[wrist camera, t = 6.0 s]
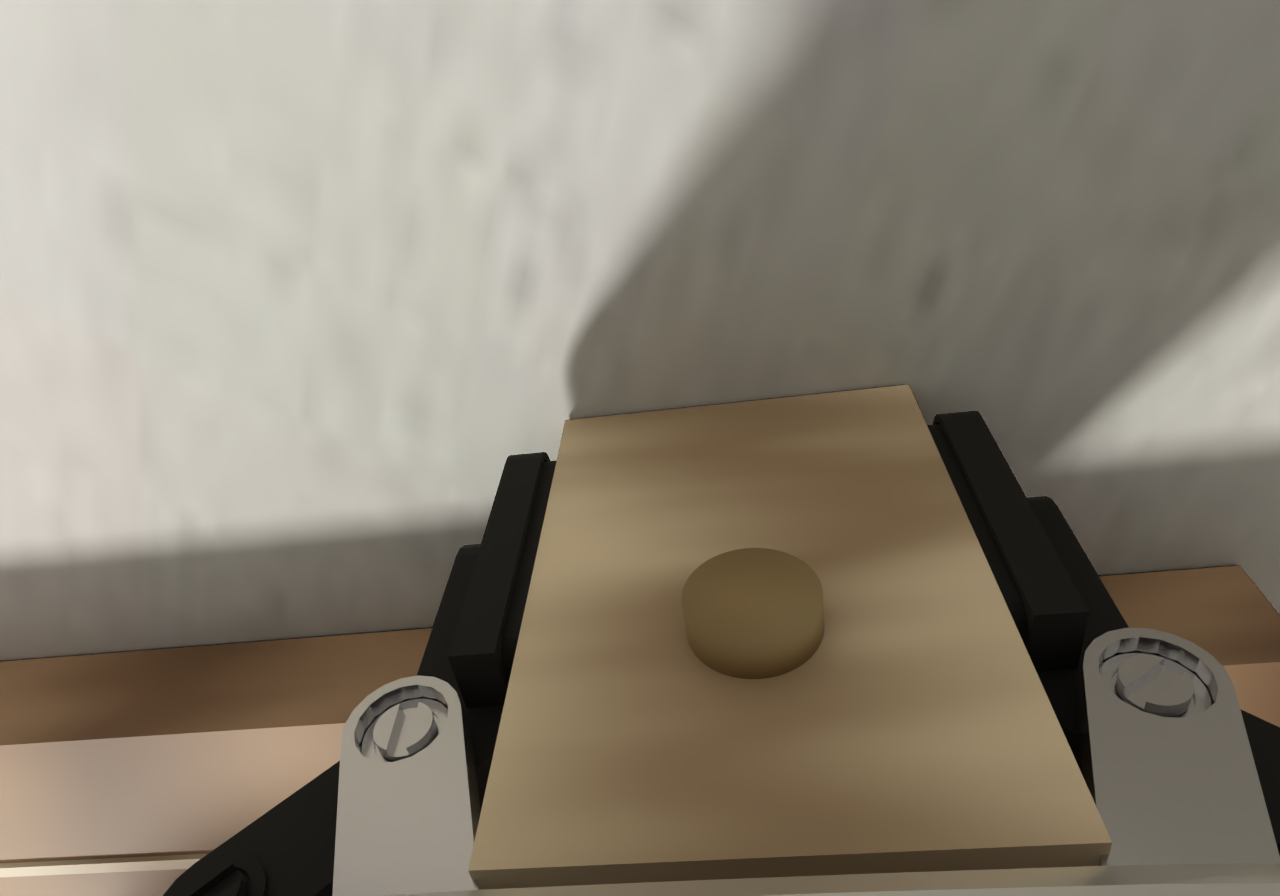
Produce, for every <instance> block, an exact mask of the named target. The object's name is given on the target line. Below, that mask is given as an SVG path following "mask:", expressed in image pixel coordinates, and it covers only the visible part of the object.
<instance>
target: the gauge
mask: <svg viewBox="0 0 1280 896" xmlns="http://www.w3.org/2000/svg"><path fill="white" fill-rule="evenodd" d="M1111 845H1112V841H1111V838H1110V836H1109V834H1108V832H1107V829H1106V827H1105V825H1104V823H1103V820H1102V818H1101V816H1100V814H1099V811H1098V809H1097V807H1096V805H1095V802H1094V800H1093V798H1092V796H1091V793H1090V791H1089V789H1088V787H1087V784H1086V782H1085V780H1084V778H1083V775H1082V773H1081V771H1080V769H1079V766H1078V764H1077V762H1076V760H1075V757H1074V755H1073V753H1072V751H1071V748H1070V746H1069V744H1068V742H1067V739H1066V737H1065V735H1064V733H1063V730H1062V728H1061V726H1060V724H1059V721H1058V719H1057V717H1056V715H1055V712H1054V710H1053V708H1052V706H1051V703H1050V701H1049V699H1048V697H1047V694H1046V692H1045V690H1044V688H1043V685H1042V683H1041V681H1040V679H1039V676H1038V674H1037V672H1036V670H1035V667H1034V665H1033V663H1032V661H1031V658H1030V656H1029V654H1028V652H1027V649H1026V647H1025V645H1024V643H1023V640H1022V638H1021V636H1020V634H1019V631H1018V629H1017V627H1016V625H1015V622H1014V620H1013V618H1012V616H1011V613H1010V611H1009V609H1008V607H1007V604H1006V602H1005V600H1004V598H1003V595H1002V593H1001V591H1000V589H999V586H998V584H997V582H996V580H995V577H994V575H993V573H992V571H991V568H990V566H989V564H988V562H987V559H986V557H985V555H984V553H983V550H982V548H981V546H980V544H979V541H978V539H977V537H976V535H975V532H974V530H973V528H972V526H971V523H970V521H969V519H968V517H967V514H966V512H965V510H964V508H963V505H962V503H961V501H960V499H959V496H958V494H957V492H956V490H955V487H954V485H953V483H952V481H951V478H950V476H949V474H948V472H947V469H946V467H945V465H944V463H943V460H942V458H941V456H940V454H939V451H938V449H937V447H936V445H935V442H934V440H933V438H932V436H931V433H930V431H929V429H928V427H927V424H926V422H925V420H924V418H923V415H922V413H921V411H920V409H919V406H918V404H917V402H916V400H915V397H914V395H913V393H912V391H911V388H910V386H909V385H899V386H890V387H880V388H870V389H861V390H851V391H842V392H832V393H822V394H813V395H803V396H794V397H784V398H775V399H765V400H755V401H746V402H736V403H727V404H717V405H707V406H698V407H688V408H679V409H669V410H660V411H650V412H640V413H631V414H621V415H612V416H602V417H593V418H583V419H573V420H565V425H564V429H563V434H562V439H561V443H560V448H559V453H558V457H557V462H556V466H555V471H554V476H553V480H552V485H551V490H550V494H549V499H548V503H547V508H546V513H545V517H544V522H543V527H542V531H541V536H540V540H539V545H538V550H537V554H536V559H535V564H534V568H533V573H532V578H531V582H530V587H529V591H528V596H527V601H526V605H525V610H524V615H523V619H522V624H521V628H520V633H519V638H518V642H517V647H516V652H515V656H514V661H513V665H512V670H511V675H510V679H509V684H508V689H507V693H506V698H505V702H504V707H503V712H502V716H501V721H500V726H499V730H498V735H497V739H496V744H495V749H494V753H493V758H492V763H491V767H490V772H489V777H488V781H487V786H486V790H485V795H484V800H483V804H482V809H481V814H480V818H479V823H478V827H477V832H476V837H475V841H474V846H473V851H472V855H471V860H470V864H469V869H468V872H469V874H470V876H471V878H472V880H474V879H477V880H478V882H479V884H480V887H481V889H482V890H485V889H508V888H531V887H553V886H576V885H599V884H622V883H644V882H668V881H694V880H719V879H744V878H770V877H796V876H822V875H849V874H875V873H902V872H932V871H962V870H992V869H1022V868H1052V867H1082V866H1098V864H1099V860H1100V857H1101V855H1108V854H1109V853H1110V849H1111Z"/></svg>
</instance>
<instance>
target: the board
mask: <svg viewBox="0 0 1280 896" xmlns="http://www.w3.org/2000/svg"><path fill="white" fill-rule="evenodd" d="M1099 578H1100V579H1101V581H1102V583H1103V584H1104V586H1105V588H1106V589H1107V591H1108V593H1109V594H1110V596H1111V598H1112V600H1113V601H1114V603H1115V605H1116V606H1117V608H1118V610H1119V611H1120V613H1121V615H1122V616H1123V618H1124V620H1125V621H1126V623H1127V625H1128V627H1129V628H1150V629H1154V630H1159V631H1163V632H1168V633H1172V634H1174V635H1176V636H1179V637H1181V638H1184V639H1186V640H1188V641H1191V642H1193V643H1195V644H1196V645H1198V646H1199V647H1201V648H1202V649H1204V650H1205V651H1207V652H1208V653H1210V654H1211V655H1212V656H1213V657H1214V658H1215V659H1216V660H1217V661H1218V662H1219V663H1220V664H1221V665H1222V666H1223V667H1224V668H1225V669H1226V671H1227V673H1228V675H1229V677H1230V679H1231V681H1232V683H1233V685H1234V687H1235V691H1236V695H1237V699H1238V702H1239V706H1240V709H1241V710H1243V711H1246V712H1248V713H1250V714H1252V715H1254V716H1256V717H1258V718H1261V719H1263V720H1265V721H1267V722H1269V723H1271V724H1274V725H1276V726H1278V727H1280V615H1279V613H1278V612H1277V611H1276V610H1275V608H1274V607H1273V606H1272V605H1271V604H1270V602H1269V601H1268V600H1267V599H1266V597H1265V596H1264V595H1263V594H1262V592H1261V591H1260V590H1259V589H1258V587H1257V586H1256V585H1255V584H1254V582H1253V581H1252V580H1251V579H1250V578H1249V576H1248V575H1247V574H1246V573H1245V571H1244V570H1243V569H1242V568H1241V566H1227V567H1214V568H1201V569H1188V570H1175V571H1162V572H1150V573H1137V574H1124V575H1111V576H1099ZM431 631H432V628H428V629H415V630H402V631H389V632H376V633H363V634H351V635H338V636H325V637H312V638H299V639H286V640H273V641H260V642H247V643H235V644H222V645H209V646H196V647H183V648H170V649H157V650H144V651H131V652H119V653H106V654H93V655H80V656H67V657H54V658H41V659H28V660H15V661H3V662H0V896H163V895H164V893H165V892H166V891H167V890H168V889H169V887H170V886H171V885H172V884H173V882H174V881H175V880H176V879H177V878H178V877H179V876H180V875H182V874H183V873H184V872H185V871H186V870H187V869H189V868H190V867H191V866H192V865H193V864H194V863H196V862H197V861H199V860H200V859H201V858H203V857H204V856H206V855H207V854H209V853H210V852H211V851H213V850H214V849H216V848H217V847H218V846H220V845H221V844H223V843H224V842H225V841H227V840H228V839H230V838H231V837H233V836H234V835H235V834H237V833H238V832H240V831H241V830H242V829H244V828H245V827H247V826H248V825H249V824H251V823H252V822H254V821H255V820H257V819H258V818H259V817H261V816H262V815H264V814H265V813H266V812H268V811H269V810H271V809H272V808H273V807H275V806H276V805H278V804H279V803H281V802H282V801H283V800H285V799H286V798H288V797H289V796H290V795H292V794H293V793H295V792H296V791H297V790H299V789H300V788H302V787H303V786H305V785H306V784H307V783H309V782H310V781H312V780H313V779H314V778H316V777H317V776H319V775H320V774H321V773H323V772H324V771H326V770H327V769H329V768H330V767H331V766H333V765H334V764H336V763H337V762H338V761H340V750H341V738H342V734H343V730H344V726H345V723H346V721H347V720H348V718H349V716H350V715H351V713H352V711H353V710H354V709H355V708H356V707H357V706H358V705H359V704H360V703H361V702H362V701H363V700H364V699H365V698H366V697H367V696H368V695H369V694H371V693H372V692H374V691H375V690H377V689H378V688H380V687H381V686H383V685H385V684H388V683H390V682H393V681H395V680H398V679H400V678H406V677H412V676H417V673H418V670H419V667H420V664H421V661H422V658H423V655H424V652H425V649H426V646H427V643H428V640H429V637H430V634H431Z"/></svg>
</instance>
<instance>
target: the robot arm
mask: <svg viewBox="0 0 1280 896" xmlns="http://www.w3.org/2000/svg"><path fill="white" fill-rule="evenodd" d="M927 427H928V429H929V431H930V433H931V436H932V438H933V440H934V442H935V445H936V447H937V449H938V451H939V454H940V456H941V458H942V460H943V463H944V465H945V467H946V469H947V472H948V474H949V476H950V478H951V481H952V483H953V485H954V487H955V490H956V492H957V494H958V496H959V499H960V501H961V503H962V505H963V508H964V510H965V512H966V514H967V517H968V519H969V521H970V523H971V526H972V528H973V530H974V532H975V535H976V537H977V539H978V541H979V544H980V546H981V548H982V550H983V553H984V555H985V557H986V559H987V562H988V564H989V566H990V568H991V571H992V573H993V575H994V577H995V580H996V582H997V584H998V586H999V589H1000V591H1001V593H1002V595H1003V598H1004V600H1005V602H1006V604H1007V607H1008V609H1009V611H1010V613H1011V616H1012V618H1013V620H1014V622H1015V625H1016V627H1017V629H1018V631H1019V634H1020V636H1021V638H1022V640H1023V643H1024V645H1025V647H1026V649H1027V652H1028V654H1029V656H1030V658H1031V661H1032V663H1033V665H1034V667H1035V670H1036V672H1037V674H1038V676H1039V679H1040V681H1041V683H1042V685H1043V688H1044V690H1045V692H1046V694H1047V697H1048V699H1049V701H1050V703H1051V706H1052V708H1053V710H1054V712H1055V715H1056V717H1057V719H1058V721H1059V724H1060V726H1061V728H1062V730H1063V733H1064V735H1065V737H1066V739H1067V742H1068V744H1069V746H1070V748H1071V751H1072V753H1073V755H1074V757H1075V760H1076V762H1077V764H1078V766H1079V769H1080V771H1081V773H1082V775H1083V778H1084V780H1085V782H1086V784H1087V787H1088V789H1089V791H1090V793H1091V796H1092V798H1093V800H1094V802H1095V805H1096V807H1097V809H1098V811H1099V814H1100V816H1101V818H1102V820H1103V823H1104V825H1105V827H1106V829H1107V832H1108V834H1109V836H1110V838H1111V841H1112V845H1111V849H1110V853H1109V854H1108V855H1101V857H1100V860H1099V864H1098V866H1082V867H1052V868H1022V869H992V870H962V871H932V872H902V873H875V874H849V875H822V876H796V877H770V878H744V879H719V880H694V881H668V882H644V883H622V884H599V885H576V886H553V887H531V888H508V889H485V890H482V889H481V887H480V884H479V882H478V880H477V879H474V880H472V878H471V876H470V874H469V872H468V869H469V864H470V860H471V855H472V851H473V846H474V841H475V837H476V832H477V827H478V823H479V818H480V814H481V809H482V804H483V800H484V795H485V790H486V786H487V781H488V777H489V772H490V767H491V763H492V758H493V753H494V749H495V744H496V739H497V735H498V730H499V726H500V721H501V716H502V712H503V707H504V702H505V698H506V693H507V689H508V684H509V679H510V675H511V670H512V665H513V661H514V656H515V652H516V647H517V642H518V638H519V633H520V628H521V624H522V619H523V615H524V610H525V605H526V601H527V596H528V591H529V587H530V582H531V578H532V573H533V568H534V564H535V559H536V554H537V550H538V545H539V540H540V536H541V531H542V527H543V522H544V517H545V513H546V508H547V503H548V499H549V494H550V490H551V485H552V480H553V476H554V471H555V466H556V462H557V461H550V459H549V457H548V455H547V453H545V452H542V453H531V454H521V455H510V456H508V458H507V460H506V463H505V466H504V470H503V473H502V476H501V480H500V483H499V486H498V490H497V493H496V496H495V500H494V503H493V506H492V510H491V513H490V516H489V520H488V523H487V526H486V530H485V533H484V536H483V539H482V543H481V544H476V545H464V546H463V547H461V548H460V550H459V552H458V554H457V556H456V559H455V562H454V565H453V568H452V571H451V574H450V577H449V580H448V583H447V586H446V589H445V592H444V595H443V598H442V601H441V604H440V607H439V610H438V613H437V616H436V619H435V622H434V625H433V628H432V631H431V634H430V637H429V640H428V643H427V646H426V649H425V652H424V655H423V658H422V661H421V664H420V667H419V670H418V673H417V676H412V677H406V678H400V679H398V680H395V681H393V682H390V683H388V684H385V685H383V686H381V687H380V688H378V689H377V690H375V691H374V692H372V693H371V694H369V695H368V696H367V697H366V698H365V699H364V700H363V701H362V702H361V703H360V704H359V705H358V706H357V707H356V708H355V709H354V710H353V711H352V713H351V715H350V716H349V718H348V720H347V721H346V723H345V726H344V730H343V734H342V738H341V750H340V761H338V762H337V763H336V764H334V765H333V766H331V767H330V768H329V769H327V770H326V771H324V772H323V773H321V774H320V775H319V776H317V777H316V778H314V779H313V780H312V781H310V782H309V783H307V784H306V785H305V786H303V787H302V788H300V789H299V790H297V791H296V792H295V793H293V794H292V795H290V796H289V797H288V798H286V799H285V800H283V801H282V802H281V803H279V804H278V805H276V806H275V807H273V808H272V809H271V810H269V811H268V812H266V813H265V814H264V815H262V816H261V817H259V818H258V819H257V820H255V821H254V822H252V823H251V824H249V825H248V826H247V827H245V828H244V829H242V830H241V831H240V832H238V833H237V834H235V835H234V836H233V837H231V838H230V839H228V840H227V841H225V842H224V843H223V844H221V845H220V846H218V847H217V848H216V849H214V850H213V851H211V852H210V853H209V854H207V855H206V856H204V857H203V858H201V859H200V860H199V861H197V862H196V863H194V864H193V865H192V866H191V867H190V868H189V869H187V870H186V871H185V872H184V873H183V874H182V875H180V876H179V877H178V878H177V879H176V880H175V881H174V882H173V884H172V885H171V886H170V887H169V889H168V890H167V891H166V892H165V893H164V895H163V896H1280V727H1278V726H1276V725H1274V724H1271V723H1269V722H1267V721H1265V720H1263V719H1261V718H1258V717H1256V716H1254V715H1252V714H1250V713H1248V712H1246V711H1243V710H1241V709H1240V706H1239V702H1238V699H1237V695H1236V691H1235V687H1234V685H1233V683H1232V681H1231V679H1230V677H1229V675H1228V673H1227V671H1226V669H1225V668H1224V667H1223V666H1222V665H1221V664H1220V663H1219V662H1218V661H1217V660H1216V659H1215V658H1214V657H1213V656H1212V655H1211V654H1210V653H1208V652H1207V651H1205V650H1204V649H1202V648H1201V647H1199V646H1198V645H1196V644H1195V643H1193V642H1191V641H1188V640H1186V639H1184V638H1181V637H1179V636H1176V635H1174V634H1172V633H1168V632H1163V631H1159V630H1154V629H1150V628H1129V627H1128V625H1127V623H1126V621H1125V620H1124V618H1123V616H1122V615H1121V613H1120V611H1119V610H1118V608H1117V606H1116V605H1115V603H1114V601H1113V600H1112V598H1111V596H1110V594H1109V593H1108V591H1107V589H1106V588H1105V586H1104V584H1103V583H1102V581H1101V579H1100V578H1099V576H1098V574H1097V572H1096V571H1095V569H1094V567H1093V566H1092V564H1091V562H1090V561H1089V559H1088V557H1087V556H1086V554H1085V552H1084V551H1083V549H1082V547H1081V545H1080V544H1079V542H1078V540H1077V539H1076V537H1075V535H1074V534H1073V532H1072V530H1071V529H1070V527H1069V525H1068V524H1067V522H1066V520H1065V518H1064V517H1063V515H1062V513H1061V512H1060V510H1059V508H1058V507H1057V505H1056V504H1055V503H1054V501H1053V500H1052V499H1051V498H1049V497H1046V496H1045V497H1033V498H1026V496H1025V494H1024V493H1023V491H1022V489H1021V487H1020V485H1019V484H1018V482H1017V480H1016V478H1015V476H1014V474H1013V473H1012V471H1011V469H1010V467H1009V465H1008V464H1007V462H1006V460H1005V458H1004V456H1003V455H1002V453H1001V451H1000V449H999V447H998V445H997V444H996V442H995V440H994V438H993V436H992V435H991V433H990V431H989V429H988V427H987V425H986V424H985V422H984V420H983V418H982V416H981V415H980V413H979V412H978V411H969V412H959V413H948V414H938V415H936V416H935V418H934V421H933V425H928V426H927Z"/></svg>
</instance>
